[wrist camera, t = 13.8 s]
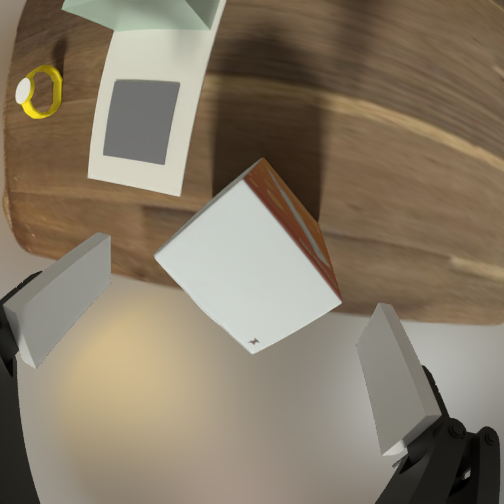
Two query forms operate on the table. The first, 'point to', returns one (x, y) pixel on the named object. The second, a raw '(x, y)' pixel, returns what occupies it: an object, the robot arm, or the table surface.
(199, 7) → the block
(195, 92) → the base
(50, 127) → the table surface
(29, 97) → the watch
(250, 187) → the small box
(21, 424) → the robot arm
